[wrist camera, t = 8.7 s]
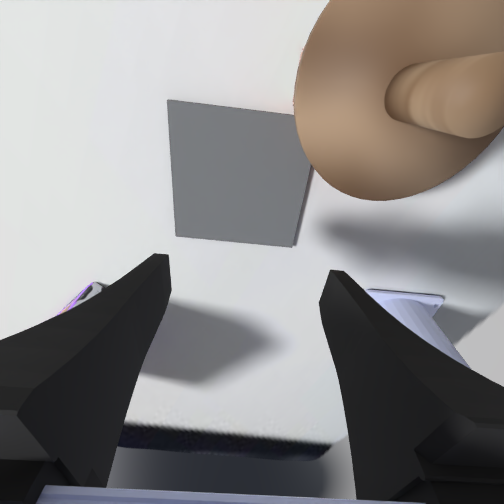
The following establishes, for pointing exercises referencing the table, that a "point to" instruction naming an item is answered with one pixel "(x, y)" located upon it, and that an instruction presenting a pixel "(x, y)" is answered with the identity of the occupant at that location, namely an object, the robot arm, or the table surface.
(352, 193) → the lid
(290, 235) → the mat
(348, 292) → the robot arm
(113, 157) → the table surface
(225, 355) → the table surface
